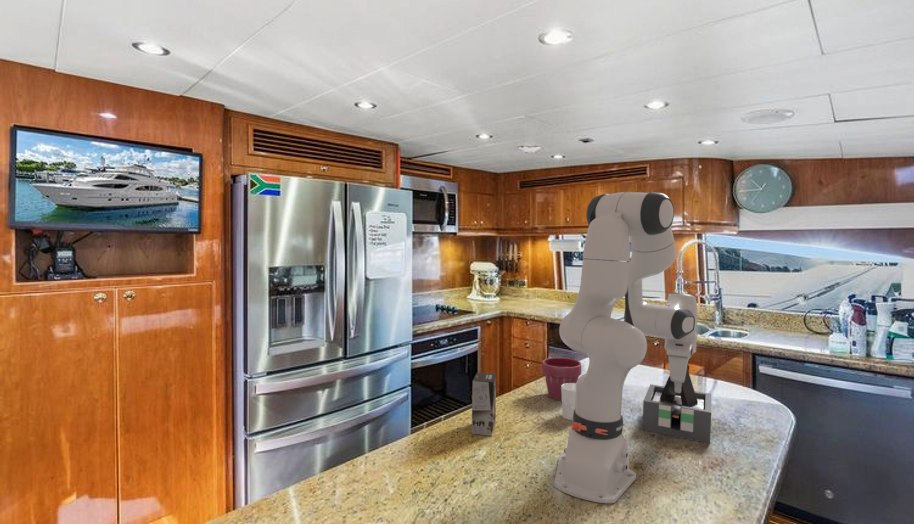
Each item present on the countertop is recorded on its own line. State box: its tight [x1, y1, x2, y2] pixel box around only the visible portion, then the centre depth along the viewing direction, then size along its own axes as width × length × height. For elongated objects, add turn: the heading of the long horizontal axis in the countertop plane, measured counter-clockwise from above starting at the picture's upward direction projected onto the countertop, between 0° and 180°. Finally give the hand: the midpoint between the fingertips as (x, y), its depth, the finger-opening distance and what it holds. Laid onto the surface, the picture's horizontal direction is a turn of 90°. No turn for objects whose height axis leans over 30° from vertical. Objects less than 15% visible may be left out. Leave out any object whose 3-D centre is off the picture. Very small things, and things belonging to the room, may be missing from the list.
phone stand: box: [660, 364, 698, 407], centre depth 140 cm, size 9×6×12 cm, turn 36°
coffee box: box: [471, 372, 497, 437], centre depth 137 cm, size 9×6×16 cm
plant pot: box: [541, 357, 582, 401], centre depth 166 cm, size 14×14×13 cm
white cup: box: [561, 383, 576, 422], centre depth 147 cm, size 8×8×10 cm
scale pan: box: [653, 391, 704, 416], centre depth 139 cm, size 17×14×1 cm
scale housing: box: [642, 383, 712, 444], centre depth 141 cm, size 18×18×9 cm
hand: (678, 388), depth 140 cm, fingers closed on phone stand, 6 cm apart
